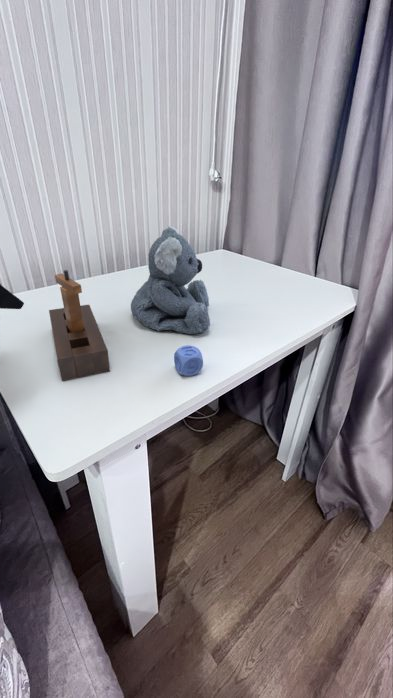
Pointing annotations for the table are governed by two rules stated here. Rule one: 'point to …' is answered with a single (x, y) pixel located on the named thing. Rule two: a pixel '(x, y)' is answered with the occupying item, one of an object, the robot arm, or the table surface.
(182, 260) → the koala plush
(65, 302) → the brown beam with peg
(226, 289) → the table surface
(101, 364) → the rack
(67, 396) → the table surface
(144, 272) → the table surface
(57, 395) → the table surface
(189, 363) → the decorative dice
